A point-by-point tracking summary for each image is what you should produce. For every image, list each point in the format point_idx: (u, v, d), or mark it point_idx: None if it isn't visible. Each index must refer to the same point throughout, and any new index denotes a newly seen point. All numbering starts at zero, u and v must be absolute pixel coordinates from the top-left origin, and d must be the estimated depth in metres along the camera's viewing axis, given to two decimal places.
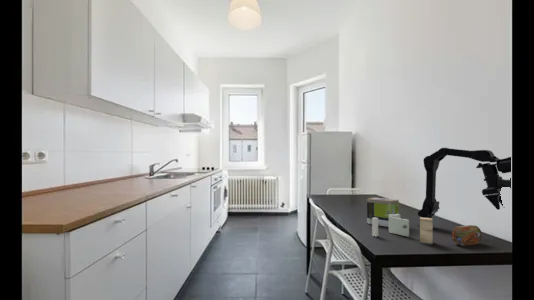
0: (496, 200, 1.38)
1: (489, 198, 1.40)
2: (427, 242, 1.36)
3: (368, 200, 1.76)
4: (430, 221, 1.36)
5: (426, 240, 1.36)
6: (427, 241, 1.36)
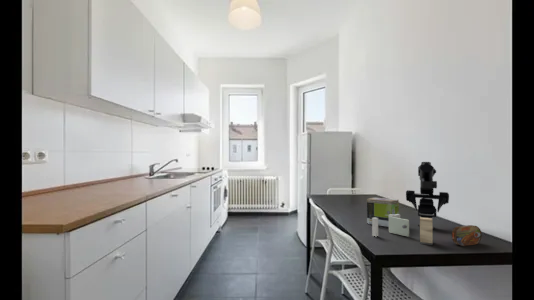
0: None
1: (412, 202, 1.53)
2: (427, 242, 1.36)
3: (368, 200, 1.76)
4: (430, 221, 1.36)
5: (426, 240, 1.36)
6: (427, 241, 1.36)
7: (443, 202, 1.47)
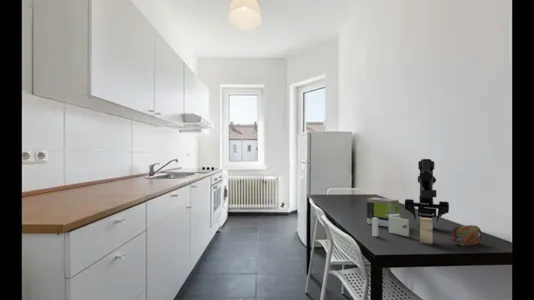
0: None
1: (411, 211, 1.48)
2: (427, 242, 1.36)
3: (368, 200, 1.76)
4: (430, 221, 1.36)
5: (426, 240, 1.36)
6: (427, 241, 1.36)
7: (443, 212, 1.42)
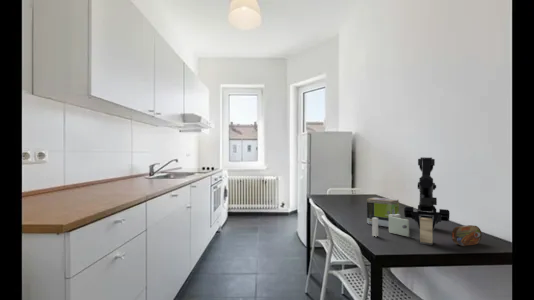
0: None
1: (415, 220, 1.44)
2: (427, 242, 1.36)
3: (368, 200, 1.76)
4: (430, 221, 1.36)
5: (426, 240, 1.36)
6: (427, 241, 1.36)
7: (438, 219, 1.40)
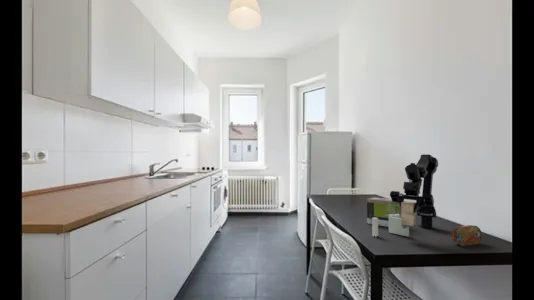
0: None
1: None
2: (408, 225, 1.40)
3: (368, 200, 1.76)
4: (410, 204, 1.40)
5: (407, 223, 1.41)
6: (408, 224, 1.40)
7: (422, 203, 1.42)
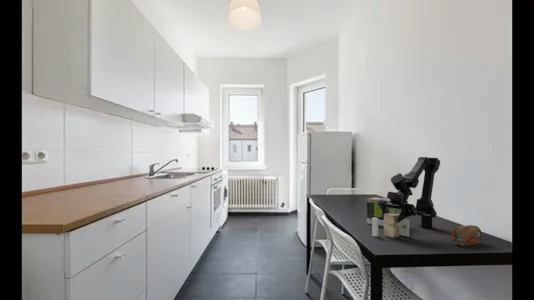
0: None
1: None
2: (389, 236, 1.47)
3: (368, 200, 1.76)
4: (391, 216, 1.46)
5: (388, 234, 1.47)
6: (389, 235, 1.47)
7: (408, 214, 1.46)
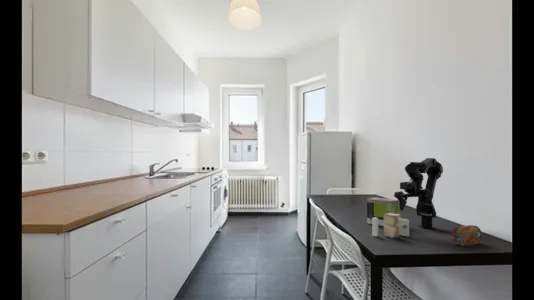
0: None
1: None
2: (389, 236, 1.47)
3: (368, 200, 1.76)
4: (391, 216, 1.46)
5: (388, 234, 1.47)
6: (389, 235, 1.47)
7: (426, 199, 1.47)
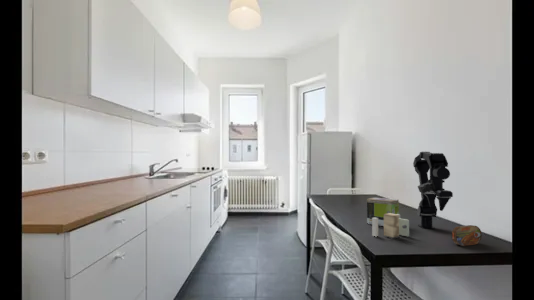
0: None
1: None
2: (389, 236, 1.47)
3: (368, 200, 1.76)
4: (391, 216, 1.46)
5: (388, 234, 1.47)
6: (389, 235, 1.47)
7: None
